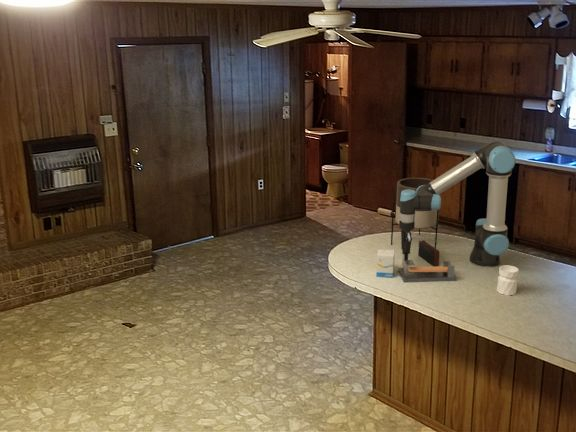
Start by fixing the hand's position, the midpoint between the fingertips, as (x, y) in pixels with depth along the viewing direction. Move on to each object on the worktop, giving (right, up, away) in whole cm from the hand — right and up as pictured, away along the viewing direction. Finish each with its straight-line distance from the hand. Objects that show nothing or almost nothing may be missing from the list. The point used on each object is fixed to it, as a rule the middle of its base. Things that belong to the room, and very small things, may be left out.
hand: (404, 264), depth 325 cm
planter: (+14, +9, +38) cm, 42 cm away
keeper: (0, -4, -9) cm, 10 cm away
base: (+10, -5, -6) cm, 13 cm away
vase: (+43, -11, -24) cm, 51 cm away
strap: (+10, -2, -9) cm, 14 cm away
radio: (+15, +1, +12) cm, 19 cm away
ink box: (-10, -5, -2) cm, 12 cm away
